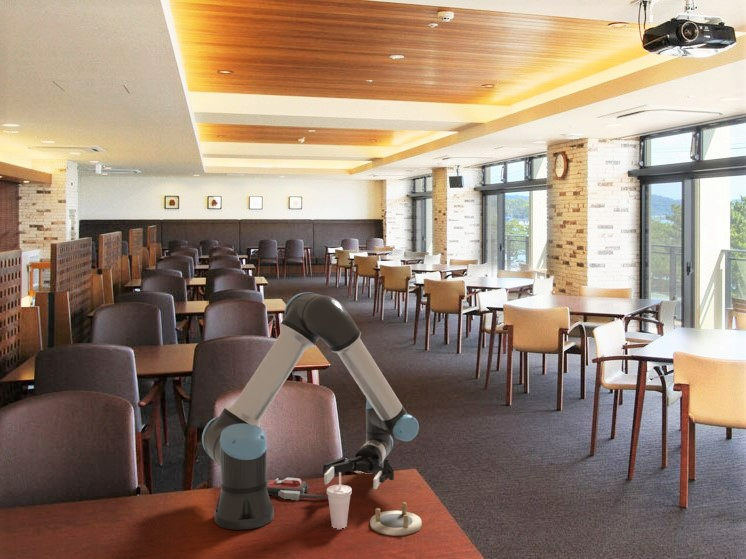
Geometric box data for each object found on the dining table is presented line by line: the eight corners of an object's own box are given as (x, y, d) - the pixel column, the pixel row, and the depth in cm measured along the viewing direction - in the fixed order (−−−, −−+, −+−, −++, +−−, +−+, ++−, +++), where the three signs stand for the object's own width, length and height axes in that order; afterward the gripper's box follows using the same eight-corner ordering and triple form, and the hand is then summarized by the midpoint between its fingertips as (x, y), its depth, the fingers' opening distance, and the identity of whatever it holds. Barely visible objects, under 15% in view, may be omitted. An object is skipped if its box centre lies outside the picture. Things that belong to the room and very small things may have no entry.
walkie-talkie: (256, 499, 198) (326, 503, 196) (256, 484, 198) (326, 487, 196) (265, 488, 207) (332, 491, 205) (265, 473, 207) (332, 476, 204)
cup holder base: (360, 528, 179) (360, 513, 178) (385, 510, 190) (385, 496, 190) (407, 539, 172) (407, 523, 172) (430, 520, 184) (430, 505, 183)
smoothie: (332, 533, 176) (332, 478, 175) (322, 524, 181) (322, 470, 180) (356, 528, 179) (356, 474, 178) (345, 519, 184) (345, 466, 183)
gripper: (411, 472, 207) (395, 500, 186) (329, 465, 213) (305, 491, 192) (411, 447, 206) (395, 472, 185) (329, 441, 212) (305, 464, 192)
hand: (349, 481), depth 189 cm, fingers open, 13 cm apart
